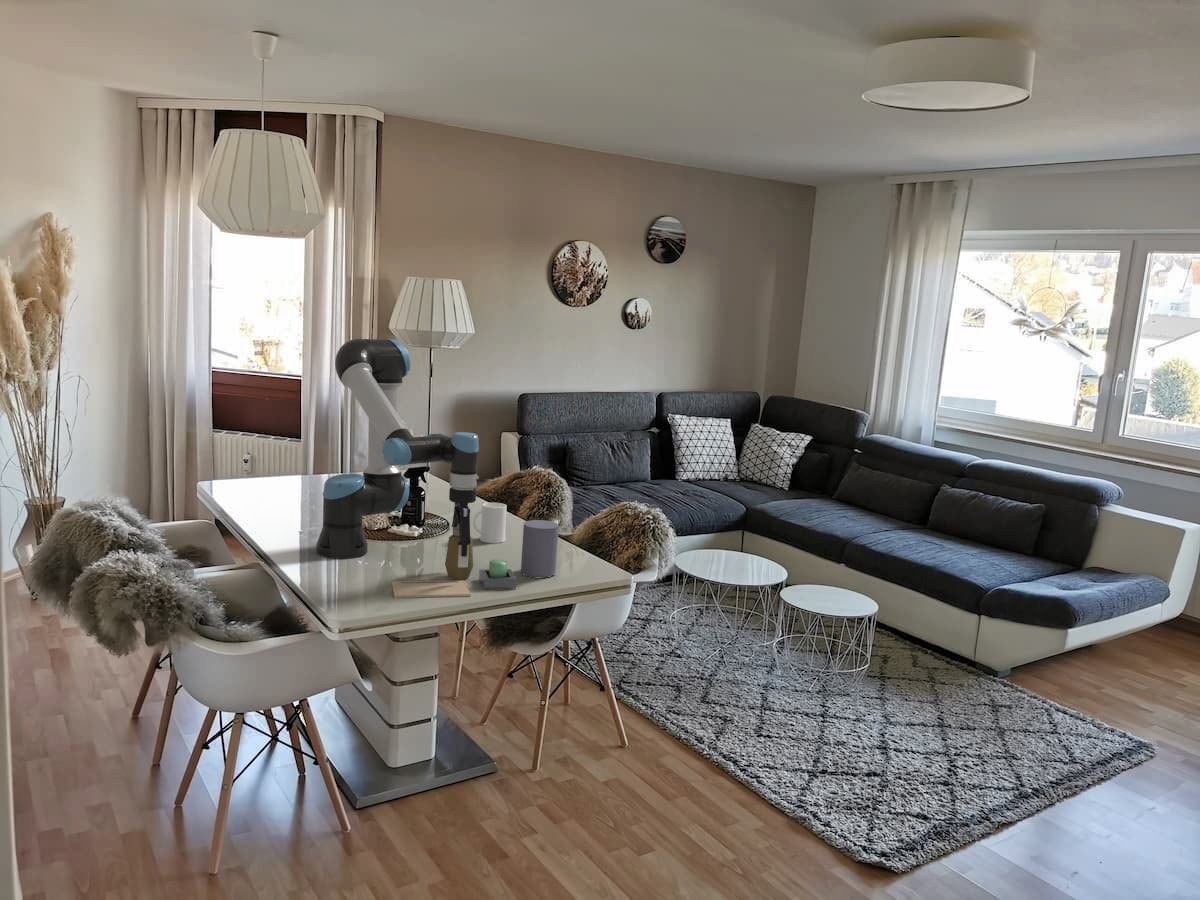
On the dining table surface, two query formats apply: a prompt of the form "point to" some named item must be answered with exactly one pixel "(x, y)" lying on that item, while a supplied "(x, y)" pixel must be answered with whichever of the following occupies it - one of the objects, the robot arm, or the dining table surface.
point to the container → (539, 548)
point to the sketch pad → (430, 589)
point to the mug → (492, 522)
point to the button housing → (497, 580)
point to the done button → (497, 568)
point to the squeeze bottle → (452, 558)
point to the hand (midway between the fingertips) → (459, 560)
